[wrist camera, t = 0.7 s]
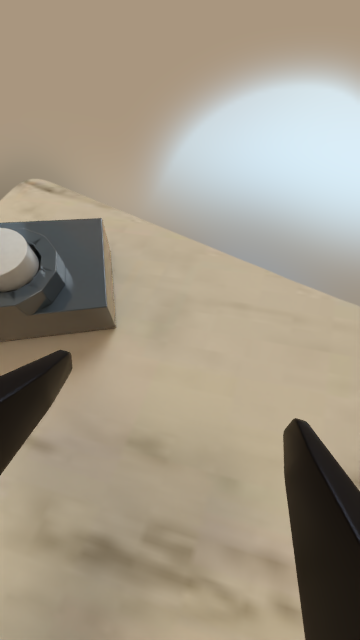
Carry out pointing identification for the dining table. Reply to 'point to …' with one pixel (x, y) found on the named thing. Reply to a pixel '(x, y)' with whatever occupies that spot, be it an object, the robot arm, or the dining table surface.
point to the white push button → (15, 261)
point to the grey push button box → (61, 281)
